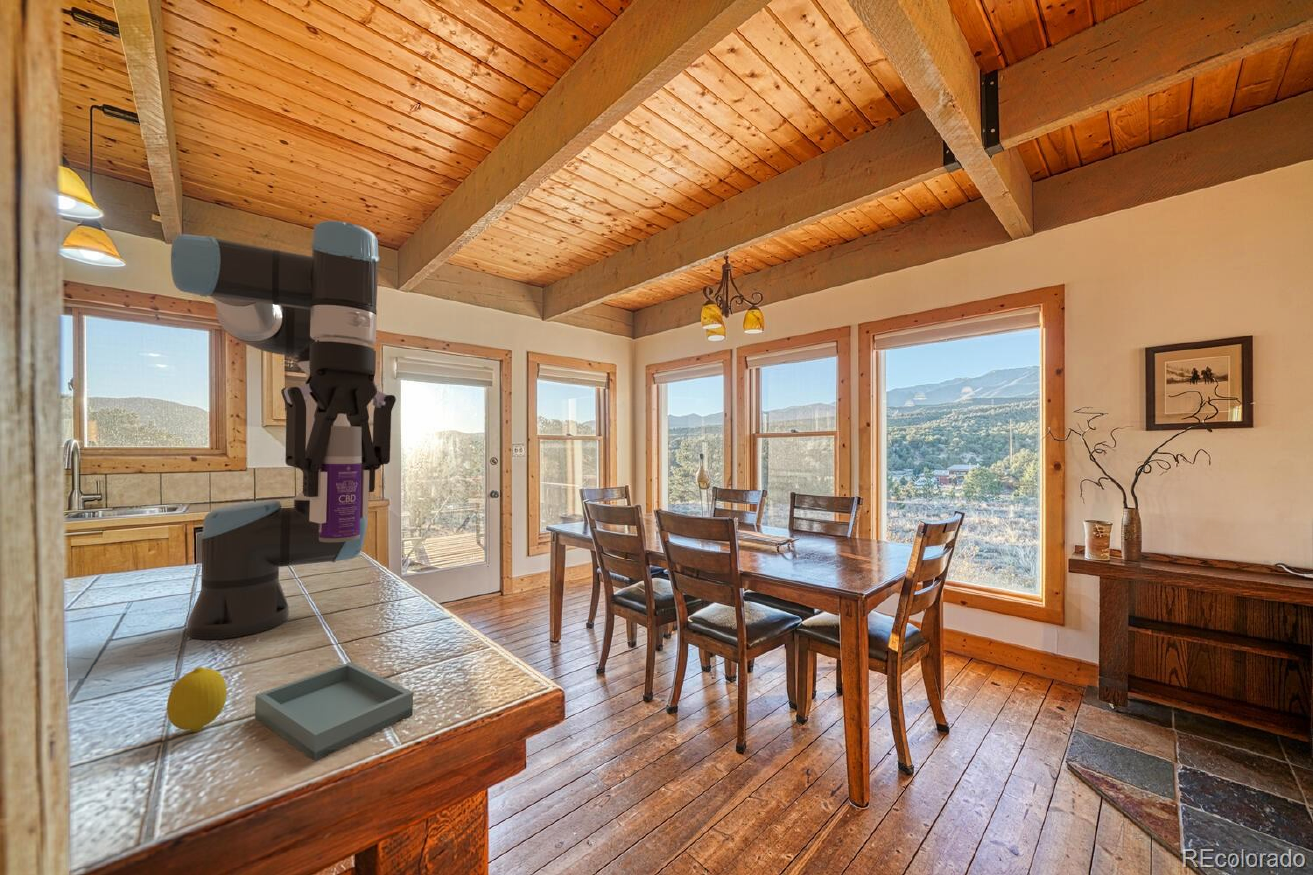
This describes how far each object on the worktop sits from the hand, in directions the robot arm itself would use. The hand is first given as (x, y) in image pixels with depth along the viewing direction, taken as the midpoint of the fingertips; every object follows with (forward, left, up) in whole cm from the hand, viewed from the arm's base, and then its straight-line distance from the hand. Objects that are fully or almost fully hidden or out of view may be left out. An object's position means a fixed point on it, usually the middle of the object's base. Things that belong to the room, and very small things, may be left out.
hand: (339, 518), depth 68 cm
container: (0, 0, -3) cm, 3 cm away
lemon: (-10, -11, -27) cm, 31 cm away
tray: (0, 0, -26) cm, 26 cm away
